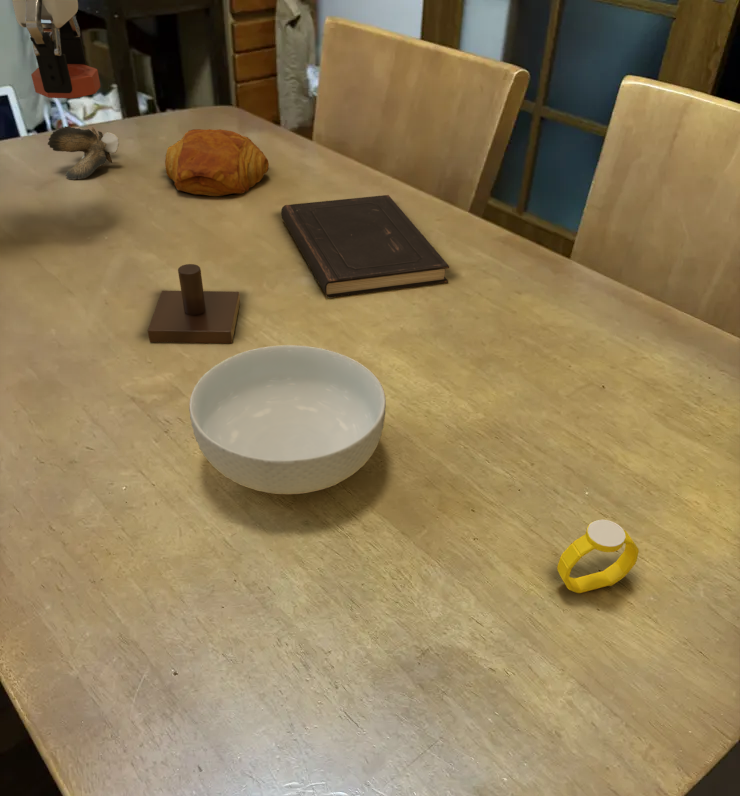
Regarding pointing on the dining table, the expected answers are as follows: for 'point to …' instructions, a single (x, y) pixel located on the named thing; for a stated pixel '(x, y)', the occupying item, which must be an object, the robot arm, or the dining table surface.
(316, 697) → the dining table surface
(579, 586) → the watch
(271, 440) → the cereal bowl
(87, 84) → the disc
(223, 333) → the stand
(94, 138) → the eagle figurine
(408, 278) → the hardcover book
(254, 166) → the croissant
